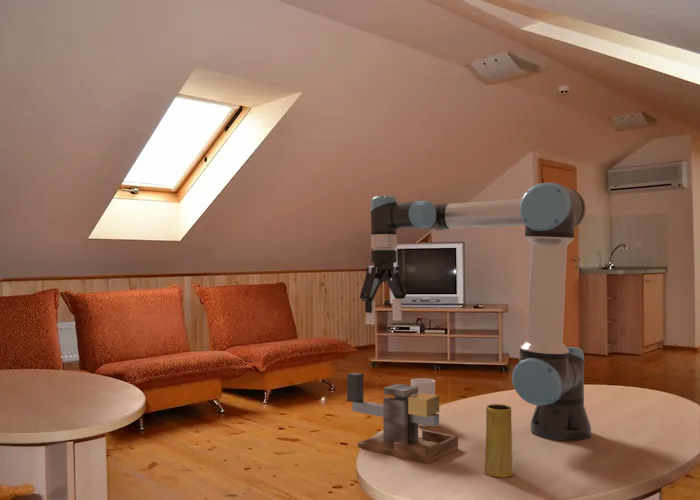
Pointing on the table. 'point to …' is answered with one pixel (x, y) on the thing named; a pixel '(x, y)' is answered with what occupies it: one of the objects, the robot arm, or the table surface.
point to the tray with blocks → (407, 431)
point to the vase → (498, 441)
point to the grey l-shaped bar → (374, 408)
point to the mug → (424, 388)
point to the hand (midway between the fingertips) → (384, 322)
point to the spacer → (423, 404)
